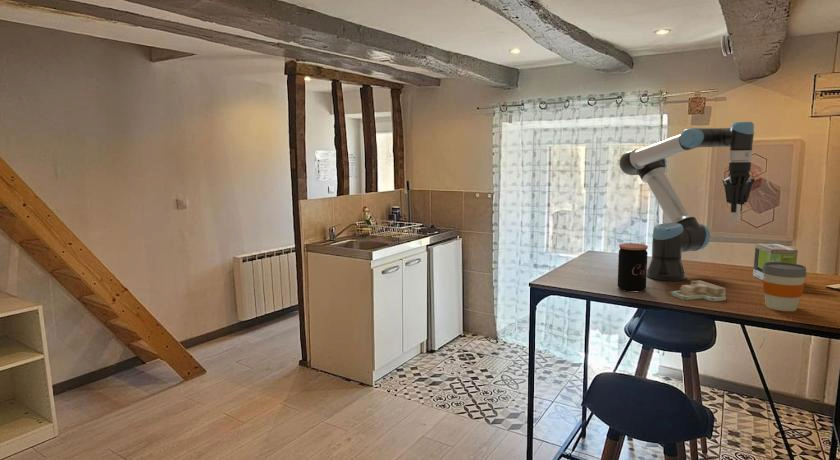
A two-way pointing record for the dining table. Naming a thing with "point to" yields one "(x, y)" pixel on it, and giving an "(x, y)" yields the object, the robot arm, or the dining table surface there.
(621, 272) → the coffee jar
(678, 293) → the t outline
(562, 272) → the dining table surface
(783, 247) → the tea box
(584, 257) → the dining table surface
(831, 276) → the dining table surface
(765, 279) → the reusable coffee cup
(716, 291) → the t block
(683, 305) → the dining table surface
